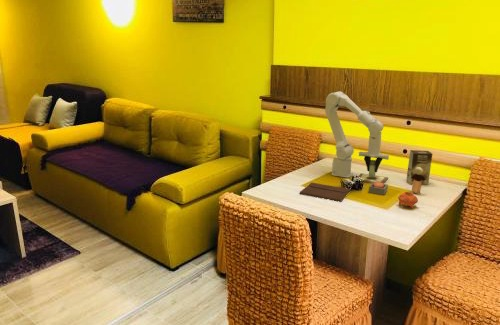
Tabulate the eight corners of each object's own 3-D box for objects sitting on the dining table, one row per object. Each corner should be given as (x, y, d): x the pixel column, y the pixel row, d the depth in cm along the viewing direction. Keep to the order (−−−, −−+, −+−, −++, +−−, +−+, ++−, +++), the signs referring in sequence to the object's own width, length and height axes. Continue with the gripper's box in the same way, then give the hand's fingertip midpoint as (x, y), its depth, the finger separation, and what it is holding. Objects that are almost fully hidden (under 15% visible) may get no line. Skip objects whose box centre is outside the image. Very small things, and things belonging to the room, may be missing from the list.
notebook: (340, 203, 180) (341, 198, 179) (299, 195, 189) (299, 191, 189) (350, 192, 192) (351, 188, 192) (311, 185, 202) (311, 181, 201)
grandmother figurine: (407, 193, 190) (410, 167, 187) (408, 190, 194) (411, 164, 190) (424, 195, 187) (428, 169, 184) (425, 193, 190) (429, 167, 187)
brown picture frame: (354, 181, 207) (354, 179, 207) (361, 174, 217) (361, 172, 217) (382, 185, 201) (383, 183, 200) (388, 178, 211) (388, 176, 210)
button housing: (368, 192, 191) (369, 186, 190) (372, 188, 197) (372, 182, 196) (384, 195, 188) (384, 189, 187) (387, 190, 193) (387, 184, 193)
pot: (399, 200, 181) (404, 187, 178) (416, 208, 177) (422, 195, 174) (392, 205, 175) (398, 191, 172) (410, 213, 171) (416, 199, 168)
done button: (372, 189, 191) (372, 184, 190) (374, 186, 195) (375, 181, 194) (382, 190, 189) (382, 185, 188) (384, 188, 193) (384, 183, 192)
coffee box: (409, 184, 202) (413, 153, 198) (406, 180, 208) (409, 149, 204) (428, 185, 201) (432, 153, 197) (424, 180, 207) (428, 150, 203)
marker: (367, 176, 208) (369, 161, 205) (369, 174, 210) (370, 159, 208) (374, 177, 206) (375, 162, 204) (376, 175, 209) (377, 160, 207)
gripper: (357, 145, 204) (355, 171, 208) (387, 148, 197) (385, 175, 201) (361, 142, 210) (359, 167, 214) (390, 145, 203) (388, 171, 207)
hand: (372, 171), depth 208 cm, fingers closed on marker, 3 cm apart
